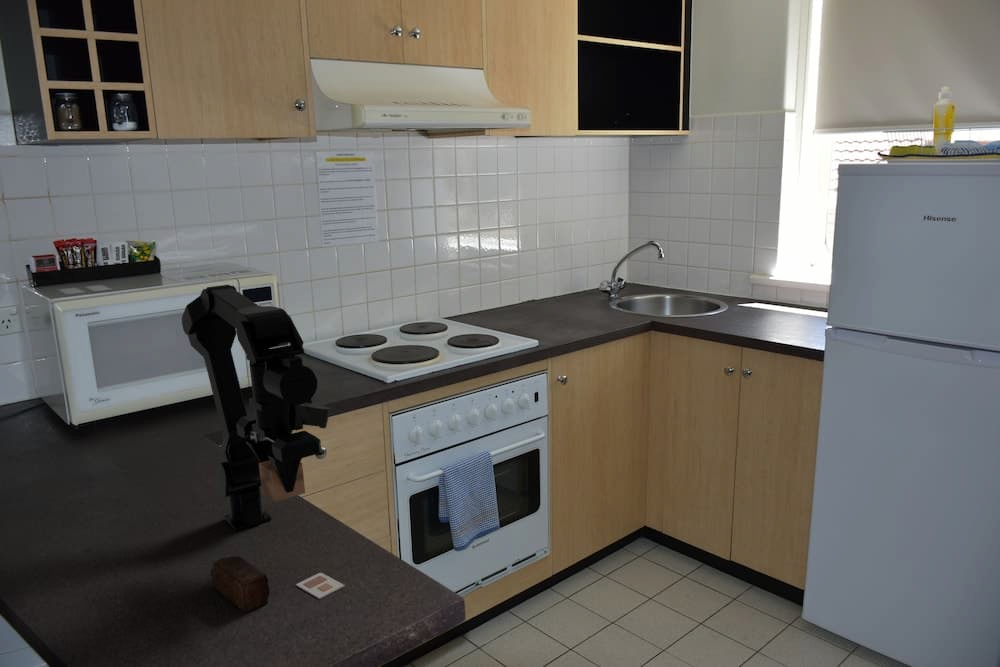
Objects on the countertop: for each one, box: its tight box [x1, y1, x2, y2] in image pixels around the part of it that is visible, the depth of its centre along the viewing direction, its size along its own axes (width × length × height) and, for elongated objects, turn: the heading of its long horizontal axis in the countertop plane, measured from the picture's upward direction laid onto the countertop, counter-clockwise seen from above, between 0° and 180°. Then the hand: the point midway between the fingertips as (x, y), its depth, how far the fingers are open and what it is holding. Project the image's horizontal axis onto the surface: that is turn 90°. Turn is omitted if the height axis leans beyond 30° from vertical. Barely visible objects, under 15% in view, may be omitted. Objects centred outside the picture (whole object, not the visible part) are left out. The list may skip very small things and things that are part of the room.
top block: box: [259, 460, 306, 503], centre depth 120 cm, size 5×5×5 cm
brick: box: [210, 555, 271, 613], centre depth 111 cm, size 11×4×5 cm, turn 45°
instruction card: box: [295, 572, 346, 600], centre depth 113 cm, size 6×4×1 cm
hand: (282, 486), depth 121 cm, fingers closed on top block, 5 cm apart
